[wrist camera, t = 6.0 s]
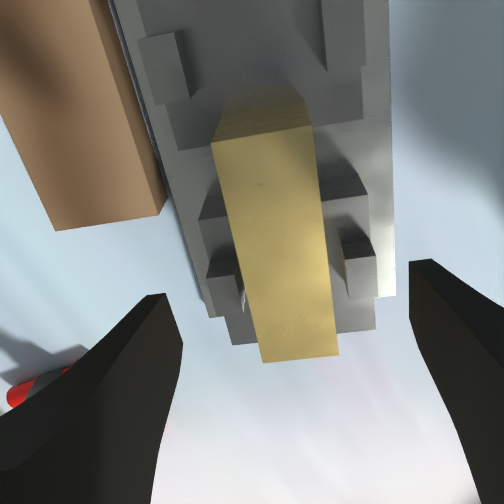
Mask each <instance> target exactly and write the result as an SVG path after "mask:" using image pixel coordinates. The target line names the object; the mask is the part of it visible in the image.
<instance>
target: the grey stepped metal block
mask: <svg viewBox="0 0 504 504" xmlns="http://www.w3.org/2000/svg"><path fill="white" fill-rule="evenodd" d="M114 4H115V7H116V10H117V14H118V17H119V20H120V23H121V27H122V30H123V33H124V37H125V40H126V43H127V47H128V50H129V53H130V57H131V60H132V63H133V67H134V70H135V73H136V77H137V80H138V83H139V86H140V90H141V93H142V96H143V100H144V103H145V106H146V110H147V113H148V116H149V120H150V123H151V126H152V130H153V133H154V136H155V140H156V143H157V146H158V150H159V153H160V156H161V159H162V163H163V166H164V169H165V173H166V176H167V179H168V183H169V186H170V189H171V193H172V196H173V199H174V203H175V206H176V209H177V213H178V216H179V219H180V222H181V226H182V229H183V232H184V236H185V239H186V242H187V246H188V249H189V252H190V256H191V259H192V262H193V266H194V269H195V272H196V276H197V279H198V282H199V286H200V289H201V292H202V295H203V299H204V302H205V305H206V309H207V312H208V315H209V318H214V317H222V316H224V317H225V321H226V324H227V328H228V332H229V335H230V339H231V342H232V345H240V344H249V343H258V340H257V336H256V332H255V328H254V323H253V319H252V315H251V311H250V307H249V303H248V298H247V294H246V290H245V286H244V282H243V277H242V273H241V269H240V265H239V261H238V256H237V252H236V248H235V244H234V240H233V236H232V231H231V227H230V223H229V219H228V215H227V210H226V206H225V202H224V198H223V194H222V189H221V185H220V181H219V177H218V173H217V169H216V164H215V160H214V156H213V152H212V148H211V141H212V138H213V136H214V134H215V131H216V129H217V127H218V124H219V122H220V120H221V117H222V115H226V114H232V113H237V112H243V111H248V110H253V109H259V108H264V107H270V106H275V105H280V104H286V103H291V102H297V101H302V100H305V104H306V107H307V111H308V114H309V117H310V121H311V124H312V130H313V139H314V147H315V156H316V165H317V173H318V182H319V190H320V199H321V207H322V216H323V224H324V233H325V241H326V250H327V258H328V267H329V275H330V284H331V292H332V301H333V309H334V318H335V326H336V334H338V333H347V332H356V331H365V330H374V329H376V324H375V306H374V298H378V297H387V296H395V295H396V282H395V243H394V204H393V164H392V125H391V86H390V47H389V8H388V0H114Z"/></svg>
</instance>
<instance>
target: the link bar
mask: <svg viewBox="0 0 504 504" xmlns="http://www.w3.org/2000/svg"><path fill="white" fill-rule="evenodd" d="M211 148H212V152H213V156H214V160H215V164H216V169H217V173H218V177H219V181H220V185H221V189H222V194H223V198H224V202H225V206H226V210H227V215H228V219H229V223H230V227H231V231H232V236H233V240H234V244H235V248H236V252H237V256H238V261H239V265H240V269H241V273H242V277H243V282H244V286H245V290H246V294H247V298H248V303H249V307H250V311H251V315H252V319H253V323H254V328H255V332H256V336H257V340H258V344H259V349H260V353H261V357H262V361H263V363H270V362H279V361H288V360H298V359H307V358H317V357H326V356H336V355H339V352H338V343H337V335H336V326H335V318H334V309H333V301H332V292H331V284H330V275H329V267H328V258H327V250H326V241H325V233H324V224H323V216H322V207H321V199H320V190H319V182H318V173H317V165H316V156H315V147H314V139H313V130H312V124H311V121H310V117H309V114H308V111H307V107H306V104H305V100H302V101H297V102H291V103H286V104H280V105H275V106H270V107H264V108H259V109H253V110H248V111H243V112H237V113H232V114H226V115H222V117H221V120H220V122H219V124H218V127H217V129H216V131H215V134H214V136H213V138H212V141H211Z"/></svg>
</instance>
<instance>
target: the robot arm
mask: <svg viewBox="0 0 504 504" xmlns="http://www.w3.org/2000/svg"><path fill="white" fill-rule="evenodd" d="M409 319H410V322H411V326H412V329H413V332H414V335H415V338H416V341H417V345H418V348H419V350H420V352H421V354H422V357H423V359H424V361H425V363H426V365H427V367H428V369H429V372H430V374H431V376H432V378H433V380H434V382H435V384H436V386H437V389H438V391H439V393H440V395H441V397H442V399H443V401H444V403H445V405H446V408H447V410H448V412H449V414H450V416H451V419H452V421H453V423H454V426H455V428H456V430H457V433H458V436H459V439H460V442H461V445H462V447H463V450H464V453H465V456H466V459H467V462H468V464H469V467H470V470H471V473H472V476H473V479H474V482H475V485H476V488H477V491H478V494H479V497H480V500H481V503H482V504H504V308H503V307H501V306H500V305H498V304H496V303H495V302H493V301H492V300H490V299H488V298H487V297H485V296H484V295H482V294H481V293H479V292H478V291H476V290H475V289H473V288H472V287H470V286H469V285H467V284H466V283H465V282H463V281H462V280H460V279H459V278H457V277H456V276H455V275H453V274H452V273H451V272H449V271H448V270H446V269H445V268H444V267H442V266H441V265H440V264H438V263H437V262H435V261H434V260H433V259H424V260H416V261H409ZM182 350H183V341H182V338H181V336H180V333H179V330H178V327H177V324H176V321H175V318H174V316H173V313H172V310H171V307H170V304H169V301H168V299H167V296H166V293H161V294H153V295H146V296H145V297H144V298H143V299H142V300H141V301H140V302H139V303H138V304H137V305H136V306H135V307H134V308H133V309H132V310H131V311H130V312H129V313H128V314H127V315H126V316H125V317H124V318H123V319H122V320H121V321H120V322H119V323H118V324H117V325H116V326H115V327H114V328H113V329H112V330H111V331H110V332H109V333H108V334H107V335H106V336H105V337H104V338H102V339H101V340H100V341H99V342H98V343H97V344H96V345H95V346H94V347H93V348H92V349H90V350H89V351H88V352H87V353H86V354H85V355H84V356H83V357H82V358H81V359H79V360H78V361H77V362H76V363H75V364H74V365H72V366H71V367H70V368H69V369H68V370H66V371H65V372H64V373H63V374H61V375H60V376H59V377H57V378H56V379H55V380H54V381H52V382H51V383H50V384H48V385H47V386H46V387H44V388H43V389H41V390H40V391H38V392H37V393H35V394H34V395H32V396H31V397H29V398H28V399H27V400H25V401H24V402H22V403H21V404H19V405H18V406H16V407H15V408H13V409H12V410H10V411H8V412H7V413H5V414H4V415H2V416H0V504H150V502H151V495H152V488H153V482H154V476H155V470H156V463H157V457H158V452H159V448H160V443H161V439H162V435H163V432H164V428H165V425H166V421H167V417H168V414H169V410H170V407H171V403H172V399H173V396H174V392H175V388H176V385H177V381H178V377H179V373H180V366H181V359H182Z"/></svg>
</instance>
